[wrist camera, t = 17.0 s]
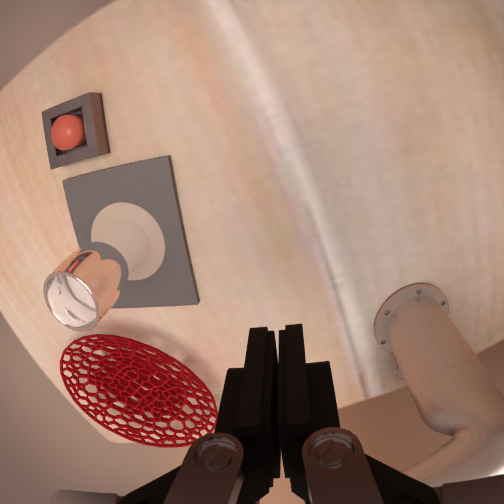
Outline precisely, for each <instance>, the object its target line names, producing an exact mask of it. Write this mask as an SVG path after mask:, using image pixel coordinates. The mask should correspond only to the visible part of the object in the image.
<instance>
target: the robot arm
mask: <svg viewBox="0 0 504 504" xmlns="http://www.w3.org/2000/svg"><path fill="white" fill-rule="evenodd" d="M448 310H449V309H448V302H447V299H446V297H445V296H444V294H443V293H442V292H441V291H440V290H439V289H438V288H436V287H435V286H433V285H430V284H414V285H411V286H408V287H406V288H403V289H401V290H400V291H398V292H397V293H395V294H394V295H393V296H391V297H390V298H389V299H388V300H387V301H386V302H385V304H384V305H383V306H382V307H381V309H380V311H379V312H378V315H377V317H376V320H375V325H374V333H375V337H376V339H377V342H378V344H379V345H380V346H381V348H383V349H384V350H385V351H387V352H389V353H393V354H394V355H395V357H396V359H397V363H398V367H397V371H396V377H397V378H398V379H404V378H405V380H406V382H407V385H408V387H409V390H410V392H411V394H412V397H413V399H414V402H415V404H416V407H417V409H418V411H419V414H420V416H421V418H422V420H423V421H424V423H425V424H426V425H427V426H428V427H429V428H430V429H432V430H434V431H436V432H439V433H441V434H445V435H449V436H452V439H451V440H450V441H448V442H447V443H446V444H444V445H443V446H441V447H440V449H438V450H436V451H435V452H433V453H431V454H430V455H428V456H426V457H425V458H423V459H421V460H420V461H418V462H417V463H414V464H413V465H411V466H409V467H407V468H406V469H404V470H402V471H400V472H399V471H397V470H395V469H393V468H391V467H389V466H387V465H385V464H383V463H382V462H380V461H378V460H376V459H374V458H372V457H370V456H368V455H366V454H365V453H364V450H363V448H362V445H361V443H360V441H359V439H358V438H357V436H356V435H354V434H353V433H352V432H351V431H348V430H346V429H343V428H340V423H339V416H338V410H337V403H336V397H335V391H334V385H333V379H332V373H331V367H330V363H329V361H325V362H315V363H306V360H305V348H304V338H303V327H302V324H294V325H285V330H279V365H278V357H277V349H276V341H275V334H274V331H268V328H267V327H257V328H250V330H249V337H248V344H247V351H246V358H245V364H244V368H229V369H228V370H227V374H226V379H225V383H224V388H223V393H222V398H221V402H220V407H219V412H218V417H217V422H216V426H215V431H214V433H210V434H206V435H204V436H202V437H200V438H198V439H197V440H196V441H194V442H193V443H192V445H191V446H190V448H189V449H188V452H187V454H186V456H185V458H184V460H183V463H182V464H181V465H180V466H179V467H177V468H175V469H173V470H172V471H170V472H169V473H166V474H165V475H163V476H161V477H159V478H157V479H155V480H153V481H152V482H150V483H148V484H146V485H144V486H142V487H140V488H138V489H136V490H134V491H132V492H130V493H128V494H127V495H126V496H118V495H117V494H115V493H97V492H84V491H73V490H59V491H56V492H54V493H53V495H51V496H50V498H49V500H48V503H47V504H259V502H260V499H261V498H262V497H264V496H265V495H266V494H268V493H269V488H270V487H273V478H280V462H281V461H280V460H281V453H282V460H283V466H284V473H285V478H290V482H291V489H292V492H293V493H295V494H296V495H297V496H299V497H300V498H301V499H303V500H304V503H305V504H504V396H503V395H502V393H501V392H500V391H499V389H498V387H497V386H496V385H495V383H494V382H493V380H492V379H491V377H490V376H489V374H488V373H487V372H486V370H485V368H484V367H483V365H482V364H481V362H480V361H479V359H478V358H477V356H476V355H475V353H474V352H473V351H472V349H471V348H470V346H469V345H468V343H467V342H466V341H465V339H464V338H463V336H462V335H461V334H460V332H459V331H458V329H457V328H456V327H455V325H454V324H453V323H452V321H451V320H450V319H449V317H448Z"/></svg>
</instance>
